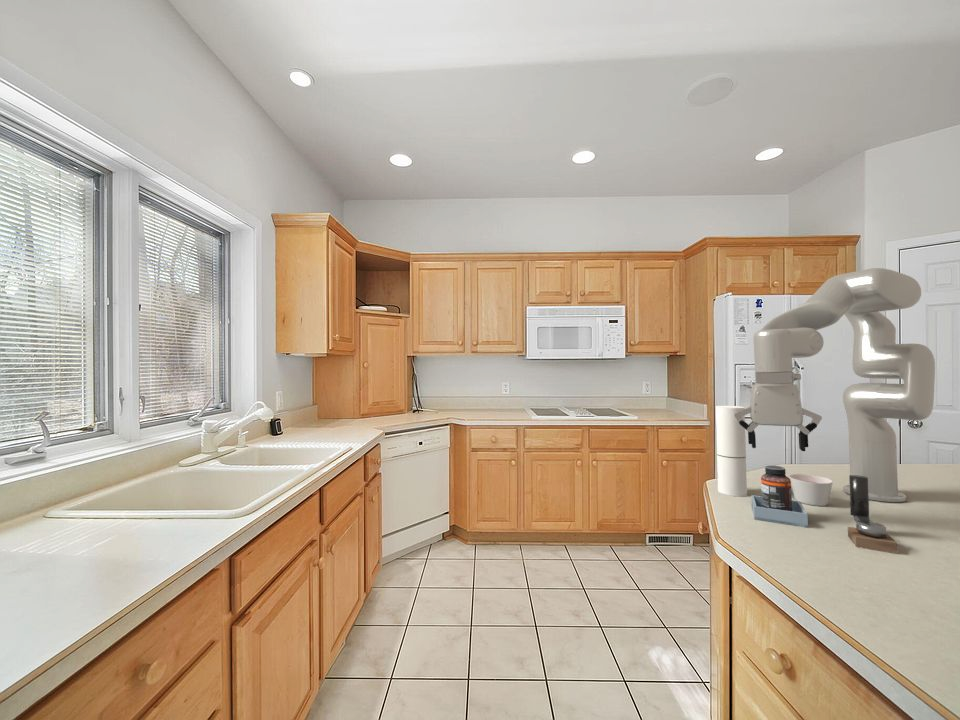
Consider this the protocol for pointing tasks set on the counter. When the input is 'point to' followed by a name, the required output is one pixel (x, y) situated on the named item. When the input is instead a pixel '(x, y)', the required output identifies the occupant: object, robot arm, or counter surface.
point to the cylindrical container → (731, 452)
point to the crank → (863, 507)
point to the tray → (779, 513)
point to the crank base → (872, 541)
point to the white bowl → (811, 489)
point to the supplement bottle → (776, 489)
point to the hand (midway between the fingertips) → (777, 448)
